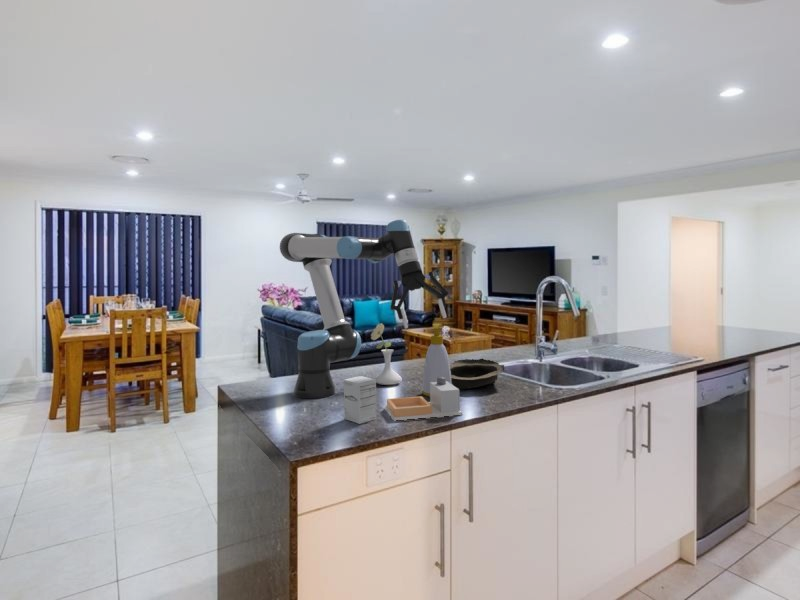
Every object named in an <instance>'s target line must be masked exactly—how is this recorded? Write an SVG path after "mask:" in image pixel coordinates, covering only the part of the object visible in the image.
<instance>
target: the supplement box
mask: <svg viewBox="0 0 800 600" xmlns="http://www.w3.org/2000/svg"><path fill="white" fill-rule="evenodd" d="M343 412H344V413H343V415H344V420H347V421H350V422H353V423H355V424H358V425H361V424H364V423H367V422H371V421H374V420H376V419H377V383H376V379H374V378H370V377H367V376H362V375H359V376H354V377H349V378H345V379H343Z"/></svg>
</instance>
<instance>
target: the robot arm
mask: <svg viewBox="0 0 800 600" xmlns="http://www.w3.org/2000/svg"><path fill="white" fill-rule="evenodd" d="M279 251H280V253H281V256H282V257H283V258H284V259H286V260H288V262H289V261H290V262H292V263H293V262H294V263H302V266H303V269H304V270H305V271H306V272H308V273H309V277H310V279H311V280H310V281H311V282H312V283H311V284H312V288H313V291H314V294H315V297H316V301H317V305H318V308H319V311H320V315H321V320H322V322H323V329H317V330H316V329H315V330H309V331H306V332H303V333H301V334H300V335H299V336H298V337H297V346H296V348H297V361H298V362H297V363H298V365H297V366H298V370H297V371H298V375H297V378H296V382H295V385H294V390H293V391H294V392H293V393H294V396H295V397H296V396H297V398H300V397H301V398H302V399H320V398H322V399H323V398H326V397H331V396H333V395H334V394H335V392H336V386H335V383H334V380H333V377H332V375H331V370H330V367H331V366H330V365H331V364H332V363H336V362H341V361H348V360H350V359H355V358H356V357H357V356H358V355H359V353H360V350H361V348H362V338H361V335H360V333H359V332H358V331H357V330H356V329H352V325H351V323H350V322H348V321H346V318H345V315H344V311H343V308H342V305H341V301H340V299H339V295H338V291H337V288H336V284H335V281H334V277H333V274H332V271H331V267H330V266H331V264H332V261H333V259H347V260H367V261H368V262H370V263H371V264H377V263H379V262H382V261H384V260H385V259H387V258H389V257H391V256H392V255H394V257H395V262H396V266H398V267H397V268H398V272H399V275H400V278H401V279H400V280H394V281H393V292H392V298H391V303H390V306H389V307H390V310H391V311H396V313H397V317H398V319H399V320H400V321H401V320H402V323H403V327H404V330H406V329H408V328H409V324H408V321H407V319H406V318H407V317H406V314H405V311H404V308H401V307H402V305H403V303H404V301H405V298H406V296H407V295H408V292H409V291H411V292H413V291H415V290H421V288H422V289H423V290H425V291H428V293H430V294H432V295H433V296H435V297H436V298H438V300H437V304H438V306H439V310H440V313H441V316H442V319H446V318H447V317H448V316H447V313H446V312H447V311H446V309H445V308H446V307H447V302H446V300H445V298H446V297H447V296H448V294H449V291H447V290H446V288H445V287H444V286H443V285H442V284H441V283H440V282H439V281H438V280H437V279H436V277H435V276H434V274H433V272H432V271H429V272H428V273H426V274H424V272H423V271H422V266H421V263H420V261H419V257H418V254H417V251H416V246H415V244H414V241H413V237H412V233H411V230H410V228H409V225H408V222H407V221H406V220H405V219H396V220H392V221H390V222H388V223H387V225H386V233H385V234H384V235H381V236H380V237H364V236H363V237H362V236H352V235H347V236H326V235H325V234H319V233H303V232H292V233H291V232H290V233H289V234H286V235H284V237H282V239H281V241H280V243H279ZM426 279H427V280H428V281H430V283H431V284H432V285H433V286H434V287H435V288H436V289H435V288H434V287H432V286H431V285H430V284H429V283H427V282H426V281H425V280H426ZM401 285H402V286H403V287H404V290H403V292H402V295H401V296H400V299H399V301H398V303H397V305H396V302H397V297H398V292H399V288H400V287H401ZM301 398H300V399H301Z"/></svg>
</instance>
